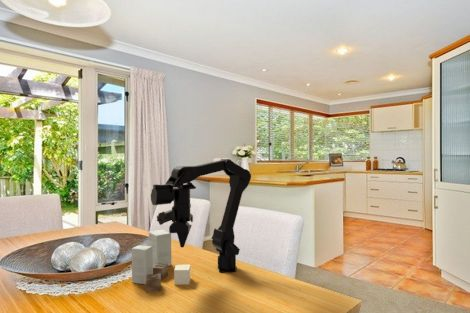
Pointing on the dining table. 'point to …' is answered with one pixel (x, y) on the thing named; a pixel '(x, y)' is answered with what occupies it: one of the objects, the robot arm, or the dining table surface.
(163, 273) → the walnut block
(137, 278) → the skincare box
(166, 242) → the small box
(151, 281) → the walnut block
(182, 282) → the cream block
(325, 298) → the dining table surface
